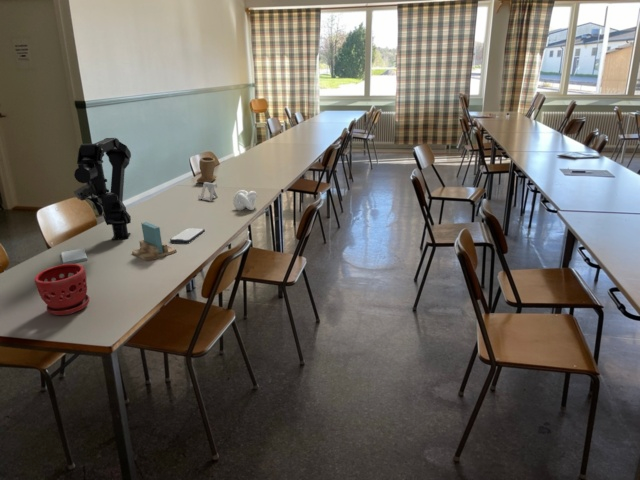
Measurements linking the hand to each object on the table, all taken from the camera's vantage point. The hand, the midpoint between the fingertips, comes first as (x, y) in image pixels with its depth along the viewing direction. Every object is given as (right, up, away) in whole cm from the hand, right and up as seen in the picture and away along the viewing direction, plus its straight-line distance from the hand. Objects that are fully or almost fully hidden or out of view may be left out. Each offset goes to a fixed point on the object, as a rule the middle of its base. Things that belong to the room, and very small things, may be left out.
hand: (103, 216), depth 188 cm
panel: (+21, -13, -3) cm, 25 cm away
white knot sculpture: (+48, +6, +50) cm, 70 cm away
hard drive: (-9, -17, -4) cm, 19 cm away
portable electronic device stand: (+25, +13, +71) cm, 76 cm away
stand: (+21, -14, -2) cm, 25 cm away
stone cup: (+15, +27, +111) cm, 115 cm away
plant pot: (+9, -30, -44) cm, 54 cm away
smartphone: (+29, -8, +15) cm, 34 cm away
